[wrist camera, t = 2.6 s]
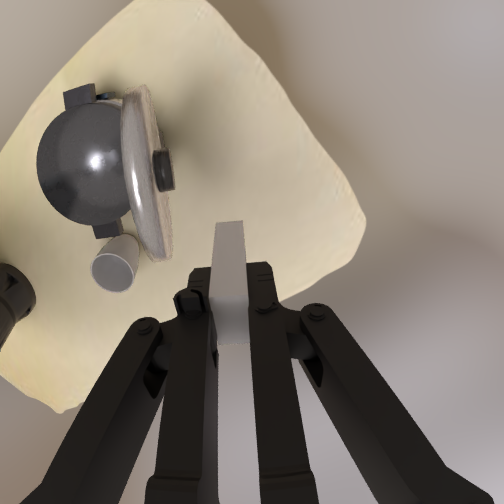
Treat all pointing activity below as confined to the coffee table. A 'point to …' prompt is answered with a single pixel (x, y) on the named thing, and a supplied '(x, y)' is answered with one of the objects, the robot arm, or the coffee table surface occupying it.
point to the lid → (147, 173)
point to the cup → (116, 264)
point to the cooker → (86, 161)
